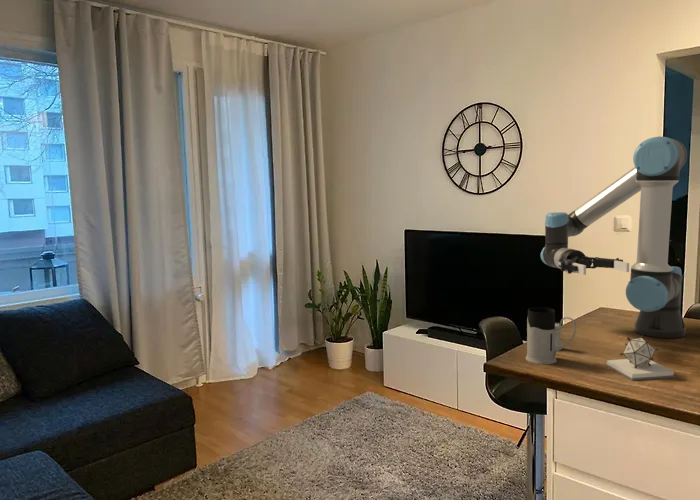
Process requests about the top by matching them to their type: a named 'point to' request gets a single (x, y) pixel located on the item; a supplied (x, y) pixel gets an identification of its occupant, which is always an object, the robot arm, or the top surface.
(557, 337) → the rook chess piece
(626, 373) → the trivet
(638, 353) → the game die
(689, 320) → the top surface
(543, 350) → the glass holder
